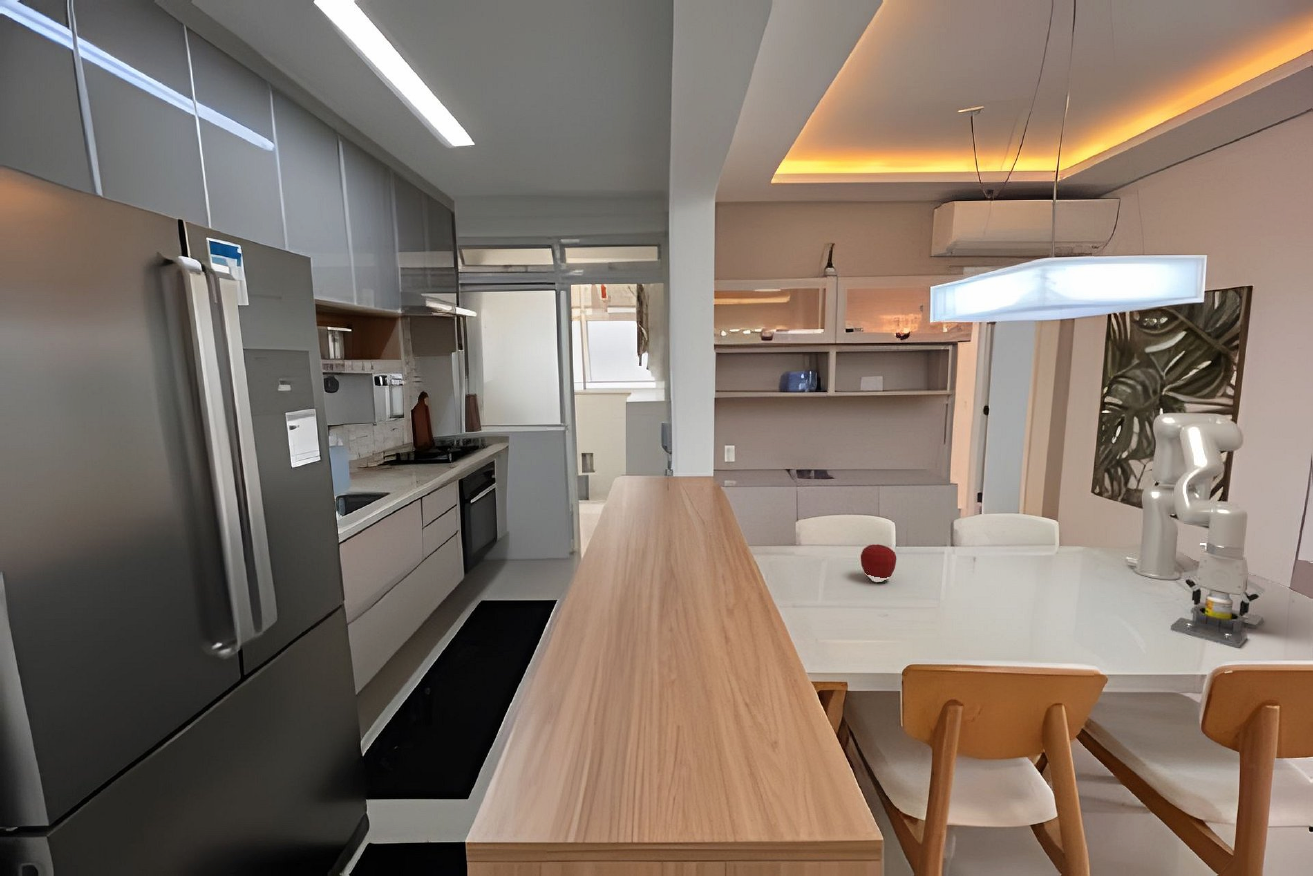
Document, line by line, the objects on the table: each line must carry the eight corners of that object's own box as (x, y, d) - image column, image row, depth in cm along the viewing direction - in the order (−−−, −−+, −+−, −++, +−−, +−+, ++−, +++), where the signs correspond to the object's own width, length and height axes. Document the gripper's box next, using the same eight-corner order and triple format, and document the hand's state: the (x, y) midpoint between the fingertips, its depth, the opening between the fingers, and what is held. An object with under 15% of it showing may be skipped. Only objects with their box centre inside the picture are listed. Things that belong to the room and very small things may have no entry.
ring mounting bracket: (1238, 648, 158) (1239, 635, 157) (1170, 629, 169) (1171, 617, 169) (1262, 620, 174) (1264, 609, 173) (1199, 605, 185) (1200, 594, 185)
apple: (901, 586, 204) (902, 548, 203) (866, 587, 205) (867, 549, 203) (888, 574, 216) (889, 538, 215) (855, 574, 217) (856, 538, 215)
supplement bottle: (1204, 619, 176) (1208, 585, 174) (1230, 624, 172) (1234, 590, 170) (1202, 624, 172) (1205, 590, 171) (1229, 630, 168) (1232, 595, 167)
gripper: (1181, 546, 174) (1176, 602, 176) (1265, 561, 160) (1258, 622, 162) (1189, 541, 178) (1183, 596, 180) (1271, 555, 164) (1264, 615, 166)
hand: (1219, 609), depth 171 cm, fingers open, 9 cm apart
